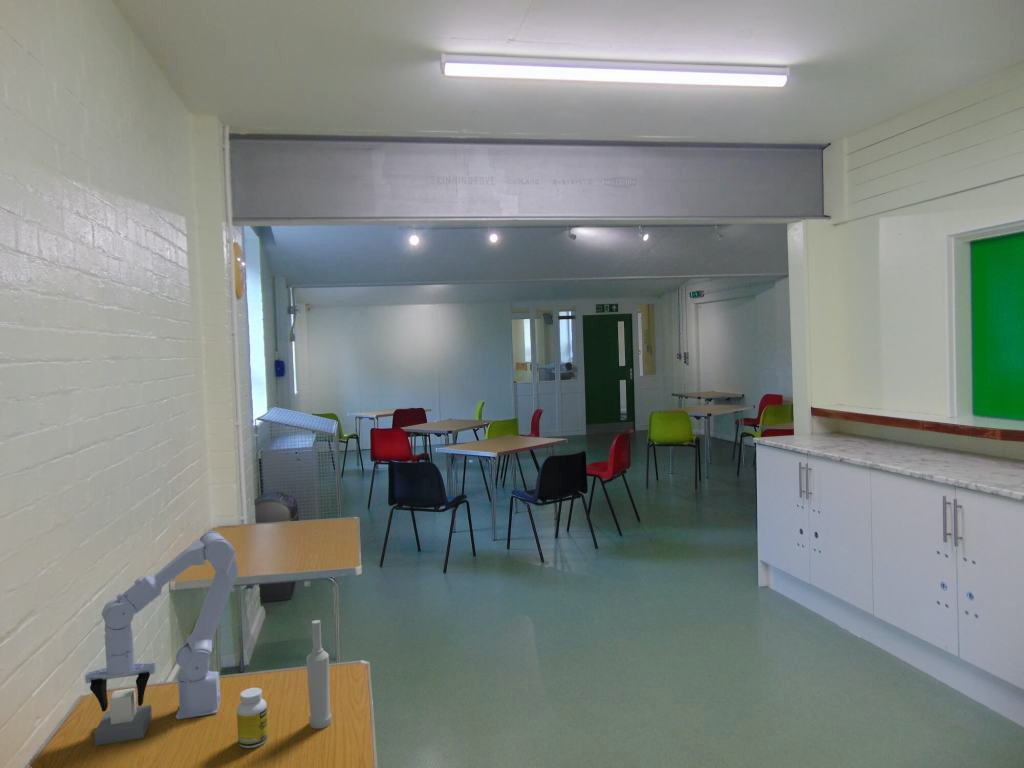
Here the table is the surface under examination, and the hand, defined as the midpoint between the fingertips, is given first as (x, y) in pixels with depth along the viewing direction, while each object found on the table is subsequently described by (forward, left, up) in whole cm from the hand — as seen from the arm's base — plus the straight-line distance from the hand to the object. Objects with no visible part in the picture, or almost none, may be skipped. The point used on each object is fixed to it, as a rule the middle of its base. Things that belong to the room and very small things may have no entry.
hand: (123, 706), depth 170 cm
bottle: (-45, +12, -6) cm, 47 cm away
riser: (0, 0, -6) cm, 6 cm away
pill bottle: (-30, +15, -6) cm, 34 cm away
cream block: (0, 0, -3) cm, 3 cm away
